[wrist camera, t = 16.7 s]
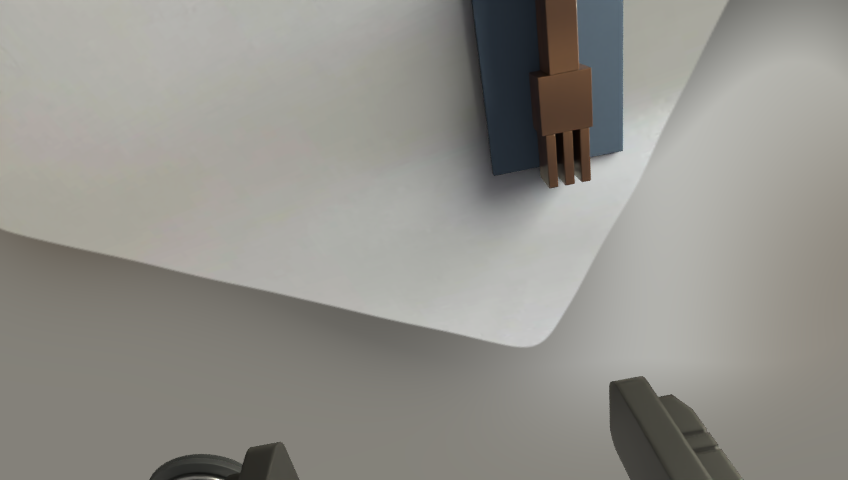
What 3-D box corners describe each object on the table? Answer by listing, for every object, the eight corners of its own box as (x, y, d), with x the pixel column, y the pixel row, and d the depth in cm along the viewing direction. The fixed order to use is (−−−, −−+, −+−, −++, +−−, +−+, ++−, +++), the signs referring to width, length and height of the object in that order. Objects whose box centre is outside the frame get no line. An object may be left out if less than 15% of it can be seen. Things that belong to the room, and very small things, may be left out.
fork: (514, -95, 31) (524, -101, 29) (572, -107, 31) (586, -114, 29) (537, 178, 39) (545, 189, 37) (583, 169, 39) (594, 180, 37)
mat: (620, 149, 39) (623, 151, 39) (492, 174, 39) (493, 176, 39) (620, -133, 31) (623, -134, 31) (459, -100, 31) (460, -101, 31)
